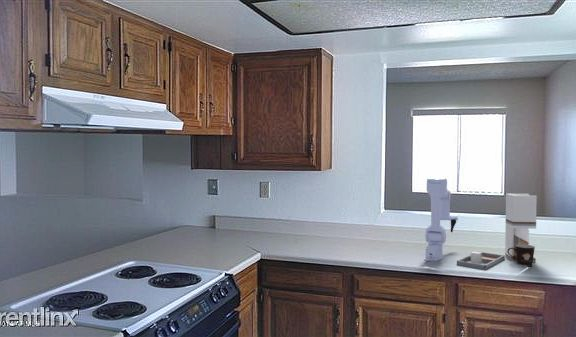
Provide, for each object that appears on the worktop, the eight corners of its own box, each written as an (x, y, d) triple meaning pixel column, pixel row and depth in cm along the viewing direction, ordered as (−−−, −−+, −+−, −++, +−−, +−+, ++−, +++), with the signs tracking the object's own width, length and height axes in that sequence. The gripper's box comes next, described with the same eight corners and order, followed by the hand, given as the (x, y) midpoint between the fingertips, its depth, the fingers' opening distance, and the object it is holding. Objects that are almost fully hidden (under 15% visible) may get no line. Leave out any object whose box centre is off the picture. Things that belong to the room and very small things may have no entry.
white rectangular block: (478, 265, 216) (479, 253, 216) (470, 264, 219) (470, 252, 219) (481, 264, 219) (481, 252, 219) (473, 262, 222) (473, 251, 222)
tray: (485, 271, 209) (485, 265, 209) (456, 266, 219) (456, 260, 219) (504, 261, 229) (504, 255, 229) (477, 256, 239) (477, 251, 239)
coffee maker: (512, 261, 228) (513, 195, 227) (505, 256, 239) (506, 193, 237) (535, 262, 226) (536, 195, 225) (527, 257, 237) (528, 193, 236)
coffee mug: (536, 265, 220) (536, 245, 220) (532, 268, 214) (532, 248, 214) (511, 261, 228) (511, 242, 228) (506, 264, 222) (506, 245, 221)
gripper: (456, 207, 259) (456, 229, 261) (430, 208, 262) (431, 230, 264) (458, 210, 252) (458, 233, 254) (432, 211, 255) (432, 233, 257)
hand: (444, 231), depth 258 cm, fingers open, 7 cm apart
